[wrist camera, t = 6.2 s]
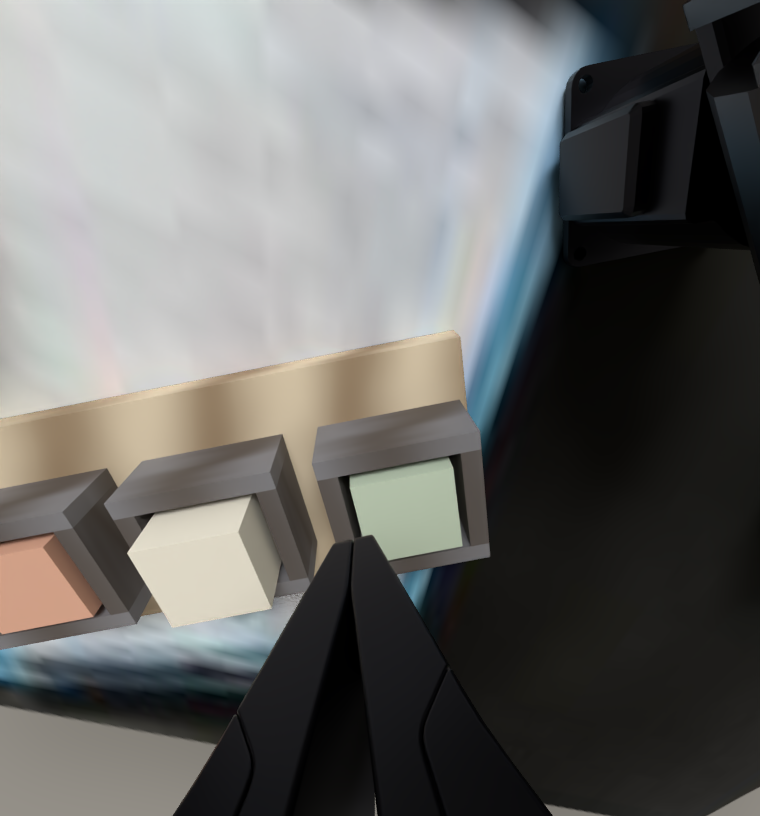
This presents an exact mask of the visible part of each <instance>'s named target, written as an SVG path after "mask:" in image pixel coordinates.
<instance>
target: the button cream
mask: <svg viewBox="0 0 760 816" xmlns="http://www.w3.org/2000/svg"><path fill="white" fill-rule="evenodd" d="M127 554H128V556H129V557H130V559H131V561H132V562H133V564H134V565H135V567H136V569H137V570H138V572H139V574H140V575H141V577H142V579H143V580H144V582H145V584H146V585H147V587H148V588H149V590H150V592H151V593H152V595H153V597H154V598H155V600H156V602H157V603H158V605H159V606H160V608H161V610H162V611H163V613H164V615H165V616H166V618H167V620H168V621H169V623H170V624H171V626H172V628H174V627H179V626H184V625H189V624H195V623H200V622H205V621H210V620H216V619H221V618H226V617H232V616H237V615H242V614H247V613H253V612H258V611H263V610H268V609H272V605H273V600H274V595H275V590H276V585H277V580H278V575H279V570H280V566H281V561H282V559H281V557H280V554H279V552H278V549H277V547H276V544H275V541H274V539H273V536H272V534H271V531H270V528H269V526H268V523H267V521H266V518H265V516H264V513H263V510H262V508H261V505H260V503H259V500H258V498H257V495H256V493H252V494H247V495H242V496H237V497H232V498H226V499H221V500H216V501H211V502H206V503H201V504H195V505H190V506H185V507H180V508H175V509H169V510H164V511H159V512H155V513H154V515H153V516H152V518H151V519H150V521H149V522H148V523H147V525H146V526H145V528H144V529H143V531H142V532H141V534H140V535H139V537H138V538H137V540H136V541H135V542H134V544H133V545H132V547H131V548H130V550H129V551H128V553H127Z"/></svg>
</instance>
